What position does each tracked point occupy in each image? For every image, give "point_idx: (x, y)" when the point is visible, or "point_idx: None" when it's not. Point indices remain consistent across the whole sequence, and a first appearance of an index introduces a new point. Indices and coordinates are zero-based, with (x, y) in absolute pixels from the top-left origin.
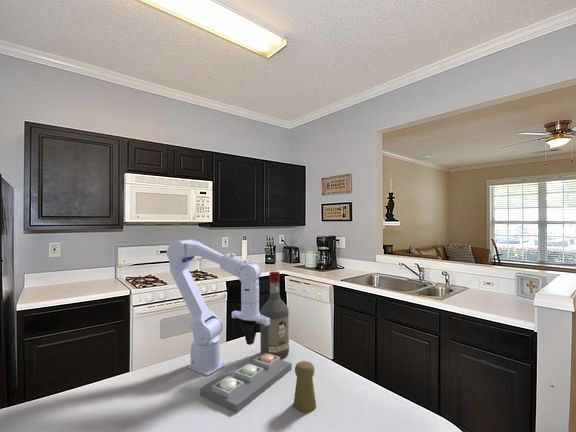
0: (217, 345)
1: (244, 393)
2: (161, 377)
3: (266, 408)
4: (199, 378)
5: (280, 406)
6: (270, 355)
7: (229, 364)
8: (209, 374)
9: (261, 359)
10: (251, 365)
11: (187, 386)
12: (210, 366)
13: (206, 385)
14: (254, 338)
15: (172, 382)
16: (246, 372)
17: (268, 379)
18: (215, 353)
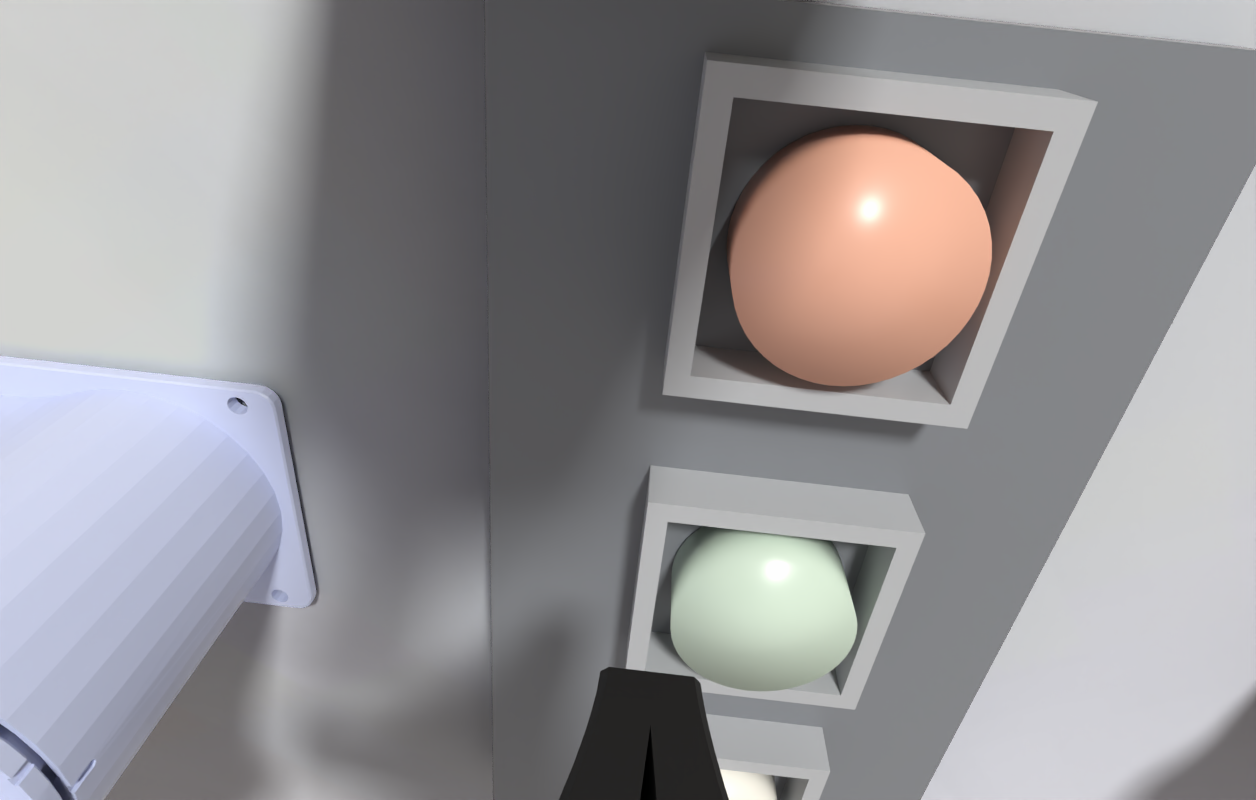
0: (90, 726)
1: (872, 779)
2: None
3: (1069, 732)
4: (290, 633)
5: (1185, 691)
6: (899, 198)
7: (283, 331)
8: (313, 583)
9: (787, 368)
10: (747, 573)
11: (324, 724)
12: (247, 592)
13: (505, 788)
14: (717, 773)
15: (180, 724)
16: (772, 687)
17: (1017, 574)
18: (172, 660)
